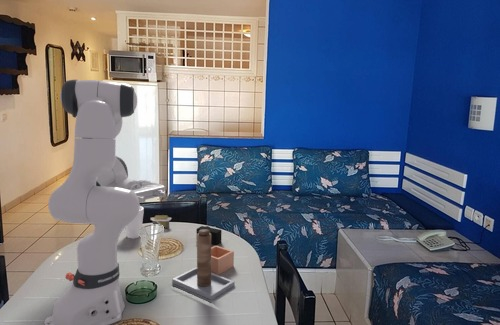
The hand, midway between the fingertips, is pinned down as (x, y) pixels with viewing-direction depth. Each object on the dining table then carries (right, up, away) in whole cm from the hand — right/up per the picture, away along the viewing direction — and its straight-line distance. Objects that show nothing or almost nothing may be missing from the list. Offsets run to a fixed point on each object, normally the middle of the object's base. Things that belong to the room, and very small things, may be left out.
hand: (154, 197), depth 143 cm
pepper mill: (+19, -29, -7) cm, 36 cm away
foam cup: (-18, -21, +37) cm, 47 cm away
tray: (+19, -30, -8) cm, 36 cm away
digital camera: (+17, -23, +30) cm, 42 cm away
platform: (-9, -20, +48) cm, 53 cm away
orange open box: (+22, -28, +6) cm, 36 cm away
